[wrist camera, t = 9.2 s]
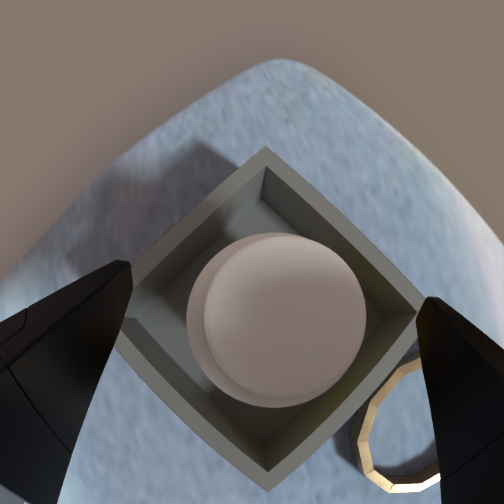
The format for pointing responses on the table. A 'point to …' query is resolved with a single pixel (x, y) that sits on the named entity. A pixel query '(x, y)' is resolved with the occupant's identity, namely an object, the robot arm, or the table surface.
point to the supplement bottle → (275, 319)
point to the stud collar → (363, 428)
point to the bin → (175, 309)
